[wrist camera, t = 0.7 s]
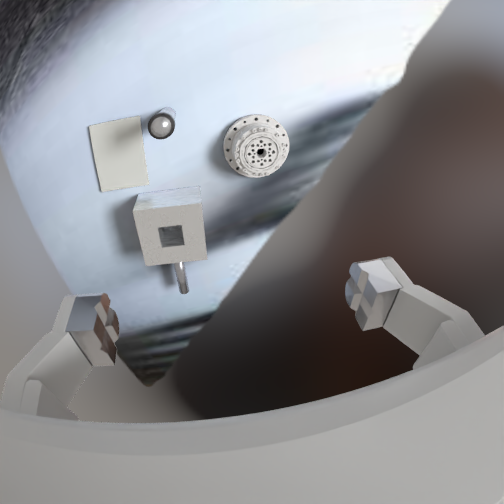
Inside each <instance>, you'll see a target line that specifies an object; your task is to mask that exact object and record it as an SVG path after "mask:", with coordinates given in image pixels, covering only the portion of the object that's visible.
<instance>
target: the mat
mask: <svg viewBox="0 0 504 504" xmlns="http://www.w3.org/2000/svg"><path fill="white" fill-rule="evenodd" d="M89 130H90V136H91V142H92V147H93V153H94V158H95V163H96V168H97V172H98V177H99V182H100V186H101V190H102V192H105V191H111V190H117V189H123V188H130V187H137V186H144V185H149V178H148V172H147V165H146V158H145V151H144V143H143V136H142V127H141V118H140V116H135V117H129V118H124V119H118V120H113V121H108V122H104V123H99V124H95V125H90V126H89Z"/></svg>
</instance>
